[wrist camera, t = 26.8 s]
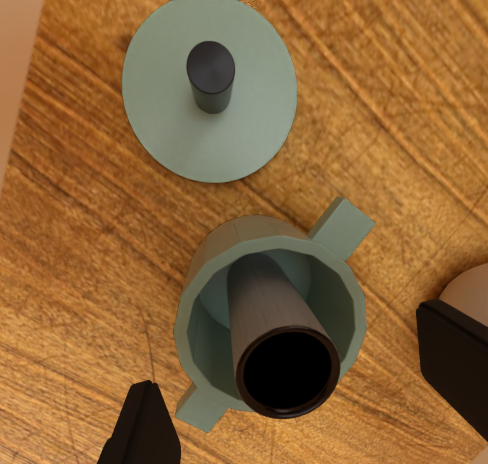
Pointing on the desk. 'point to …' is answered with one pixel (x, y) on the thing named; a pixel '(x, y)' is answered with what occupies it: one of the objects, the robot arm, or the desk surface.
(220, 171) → the lid
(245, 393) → the grey tube
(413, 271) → the desk surface
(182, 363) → the pot
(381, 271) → the desk surface
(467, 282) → the decorative egg
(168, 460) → the robot arm
